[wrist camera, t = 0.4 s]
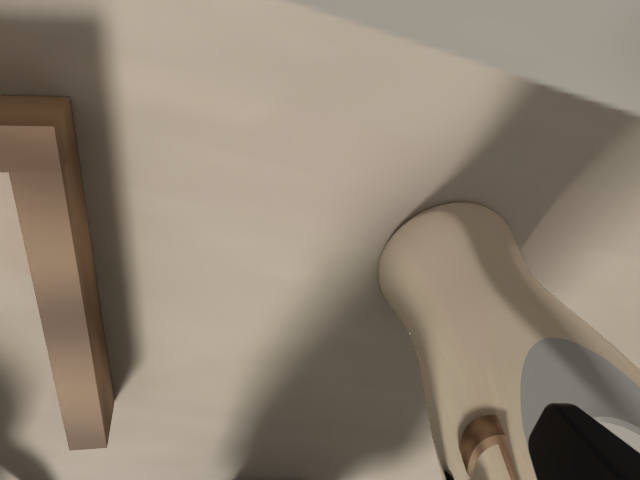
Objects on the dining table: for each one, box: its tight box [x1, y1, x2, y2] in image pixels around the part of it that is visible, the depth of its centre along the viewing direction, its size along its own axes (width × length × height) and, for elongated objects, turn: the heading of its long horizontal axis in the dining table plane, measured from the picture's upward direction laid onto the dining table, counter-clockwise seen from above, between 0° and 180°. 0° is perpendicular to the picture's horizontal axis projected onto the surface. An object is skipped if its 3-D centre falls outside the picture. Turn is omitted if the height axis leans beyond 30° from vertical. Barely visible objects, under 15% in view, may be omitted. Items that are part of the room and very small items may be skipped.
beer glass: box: [378, 202, 640, 480], centre depth 20 cm, size 7×7×15 cm
